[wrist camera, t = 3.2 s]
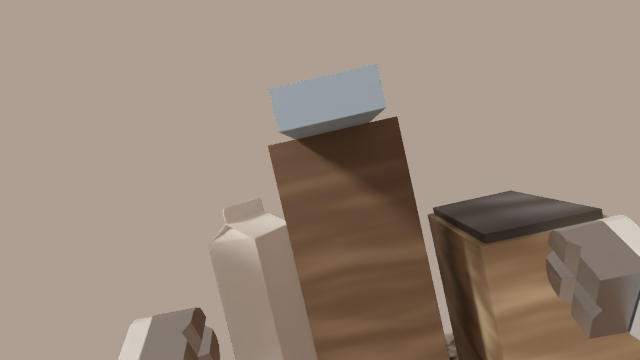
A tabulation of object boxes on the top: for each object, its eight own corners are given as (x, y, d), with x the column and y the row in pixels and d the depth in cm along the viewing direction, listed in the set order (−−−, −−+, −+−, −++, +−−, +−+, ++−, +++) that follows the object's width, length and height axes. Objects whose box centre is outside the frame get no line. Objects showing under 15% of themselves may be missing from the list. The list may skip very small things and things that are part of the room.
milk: (330, 397, 45) (285, 192, 44) (300, 436, 40) (248, 203, 39) (283, 393, 48) (239, 200, 47) (249, 428, 43) (199, 212, 42)
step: (671, 500, 26) (615, 208, 25) (538, 525, 26) (478, 237, 25) (552, 379, 40) (513, 189, 39) (466, 396, 40) (426, 208, 39)
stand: (484, 520, 27) (397, 116, 26) (360, 543, 28) (267, 145, 26) (432, 396, 41) (374, 129, 40) (350, 413, 42) (290, 149, 40)
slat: (386, 107, 18) (376, 63, 17) (278, 132, 18) (269, 88, 18) (355, 133, 40) (351, 114, 39) (308, 144, 40) (303, 125, 40)
